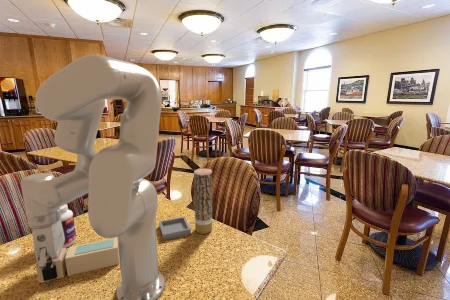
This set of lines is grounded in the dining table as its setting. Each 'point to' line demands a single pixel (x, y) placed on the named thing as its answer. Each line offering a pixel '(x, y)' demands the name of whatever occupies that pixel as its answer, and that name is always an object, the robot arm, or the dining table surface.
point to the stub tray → (174, 228)
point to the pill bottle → (68, 226)
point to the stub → (60, 266)
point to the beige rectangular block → (92, 256)
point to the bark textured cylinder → (203, 200)
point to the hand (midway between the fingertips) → (54, 270)
